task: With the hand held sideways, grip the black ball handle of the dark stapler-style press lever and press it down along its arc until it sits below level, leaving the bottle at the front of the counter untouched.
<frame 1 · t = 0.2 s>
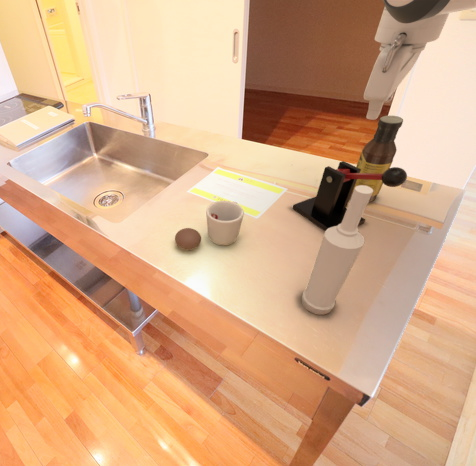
hand: (378, 109, 63), 24 cm above the counter, tool pointing down, fingers open, 8 cm apart
lever: (365, 176, 64), point 13 cm above the counter, hinge at 25.0°
press: (326, 215, 76), on the counter
bottle: (315, 304, 59), on the counter
sauce bottle: (360, 197, 80), on the counter
cup: (224, 235, 76), on the counter
egg: (187, 245, 75), on the counter
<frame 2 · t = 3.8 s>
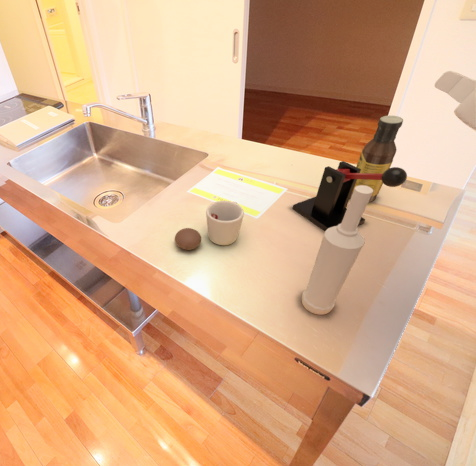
hand: (459, 81, 38), 36 cm above the counter, tool horizontal, fingers open, 8 cm apart
nothing on the counter moved.
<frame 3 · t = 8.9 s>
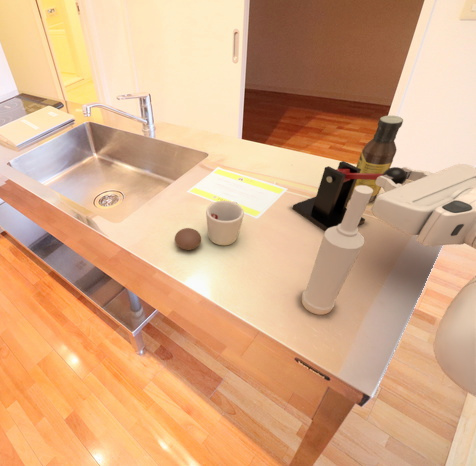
hand: (389, 175, 59), 16 cm above the counter, tool horizontal, fingers closed on lever, 3 cm apart
lever: (365, 176, 64), point 13 cm above the counter, hinge at 25.0°, touching gripper
everything else where it was.
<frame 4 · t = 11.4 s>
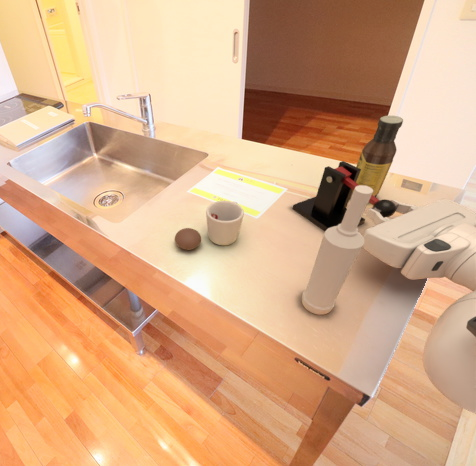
hand: (378, 206, 63), 9 cm above the counter, tool horizontal, fingers closed on lever, 3 cm apart
lever: (361, 191, 66), point 10 cm above the counter, hinge at -10.7°, touching gripper
everything else where it was.
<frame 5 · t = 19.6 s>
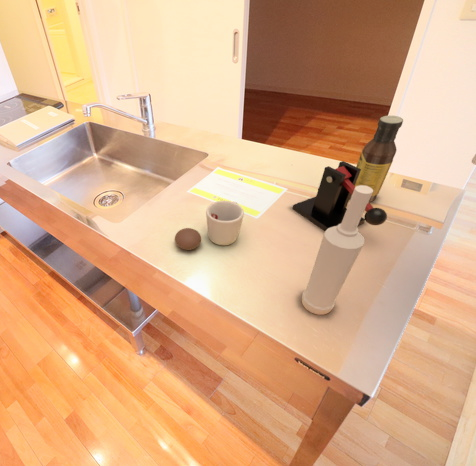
lever: (357, 196, 67), point 9 cm above the counter, hinge at -24.3°
everything else where it was.
at the end: lever reached -24° during the clip, -24° at the end; lever at -24° (first picture: +25°); bottle moved 0.2 cm from its start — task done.
